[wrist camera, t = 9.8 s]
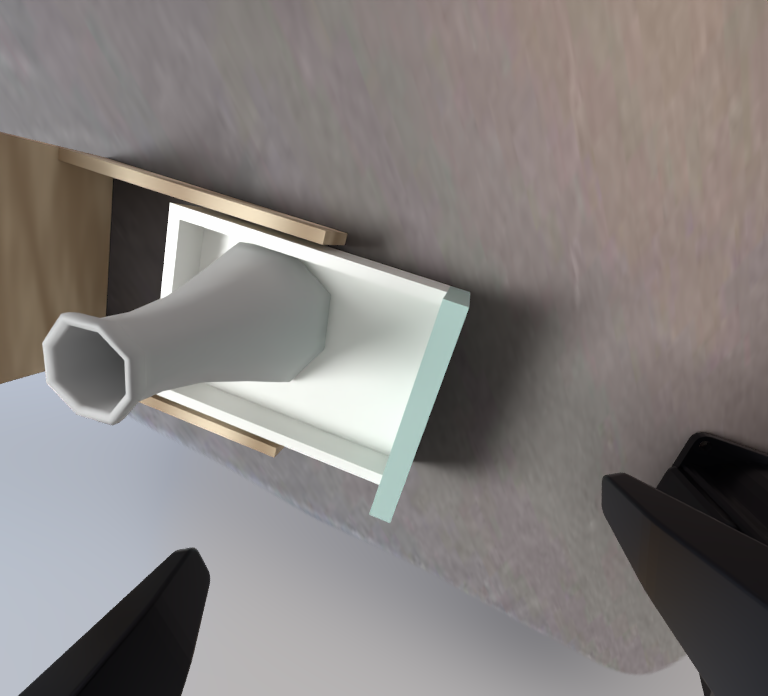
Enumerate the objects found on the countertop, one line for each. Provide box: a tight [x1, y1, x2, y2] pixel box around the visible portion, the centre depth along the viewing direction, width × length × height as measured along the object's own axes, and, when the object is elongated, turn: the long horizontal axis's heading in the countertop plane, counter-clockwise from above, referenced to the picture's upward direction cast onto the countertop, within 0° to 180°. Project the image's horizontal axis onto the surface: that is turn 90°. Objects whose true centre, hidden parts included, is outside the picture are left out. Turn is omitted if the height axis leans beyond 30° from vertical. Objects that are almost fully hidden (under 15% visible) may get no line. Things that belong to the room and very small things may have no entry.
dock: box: [0, 132, 348, 457], centre depth 18 cm, size 15×12×8 cm
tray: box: [157, 203, 470, 523], centre depth 19 cm, size 15×10×5 cm
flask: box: [42, 242, 331, 425], centre depth 15 cm, size 7×7×10 cm
